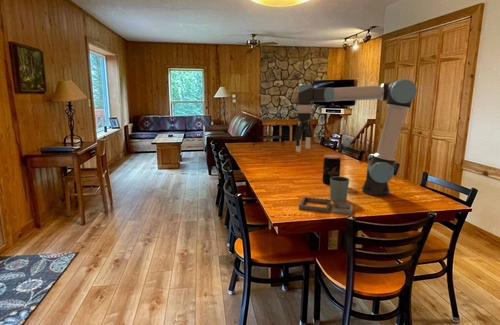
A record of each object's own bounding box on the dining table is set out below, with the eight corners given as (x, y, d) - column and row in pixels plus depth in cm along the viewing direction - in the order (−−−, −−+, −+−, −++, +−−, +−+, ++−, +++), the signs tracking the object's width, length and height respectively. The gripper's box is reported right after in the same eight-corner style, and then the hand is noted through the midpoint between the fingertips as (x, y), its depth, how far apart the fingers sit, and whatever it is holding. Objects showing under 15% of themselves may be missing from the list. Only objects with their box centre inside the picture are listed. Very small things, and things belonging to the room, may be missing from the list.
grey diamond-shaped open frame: (352, 208, 159) (352, 204, 158) (351, 214, 150) (352, 210, 149) (333, 206, 162) (333, 202, 161) (331, 212, 153) (332, 208, 152)
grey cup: (344, 196, 177) (345, 176, 175) (350, 202, 167) (352, 181, 165) (326, 196, 177) (327, 176, 174) (331, 202, 167) (333, 181, 164)
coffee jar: (321, 184, 202) (322, 156, 199) (323, 180, 212) (324, 154, 209) (338, 185, 199) (340, 158, 195) (339, 181, 209) (341, 155, 205)
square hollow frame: (330, 203, 166) (331, 199, 165) (328, 212, 152) (328, 208, 152) (303, 200, 170) (303, 196, 170) (298, 209, 157) (299, 205, 157)
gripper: (306, 111, 188) (305, 146, 192) (288, 113, 167) (287, 152, 171) (318, 111, 184) (317, 147, 188) (301, 113, 163) (300, 153, 167)
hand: (303, 150), depth 180 cm, fingers open, 13 cm apart
